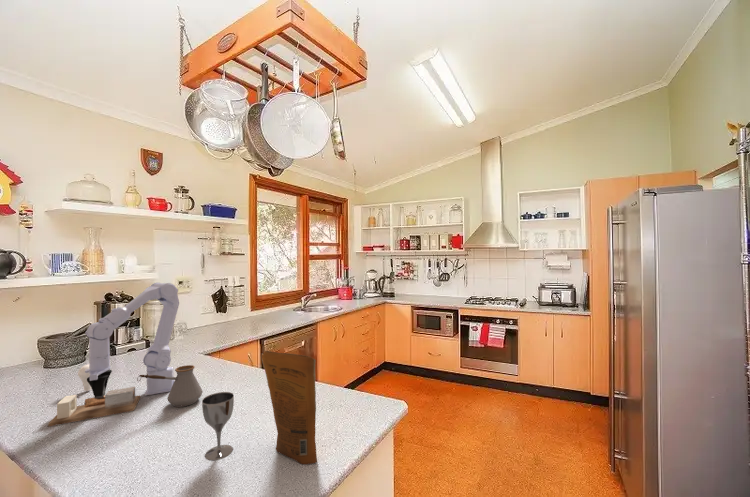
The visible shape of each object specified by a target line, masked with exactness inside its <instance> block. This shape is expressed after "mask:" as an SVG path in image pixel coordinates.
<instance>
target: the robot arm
mask: <svg viewBox="0 0 750 497" xmlns="http://www.w3.org/2000/svg"><path fill="white" fill-rule="evenodd" d="M178 292H179V289H178V288H177V287H176V285H175V284H174V283H171V282H154V283H152V284H151V285H149V286H148V287H146V288H144V290H143V291H142V292H140V293H139V294H138V295H137V296H135V298H133V299H131V301H129V302H128V303H127V304H125V305H124V306H123V307H121V306H118V307H116V308H115V307H114V308H113V307H112V309H111V310H110V312H109V313H108V314H107V315H105V316H104V317H100V318H99V319H98V322H93V323H91V324H89V325H88V328H87V329H86V331H85V335H86V336H87V338H88V340H89V343H88V356H89V357H88V358H89V359H88V361H89V362H88V364H89V369H87V370H86V371H85V373H89V374H90V377H88V378H87V382H88V383H89V384H90V386H91V388H92V389H91V390H92V394H93V398H94V397H97V396H102V394H103V390H104V385H105V391H106V390H107V386H108V381H109V379H110V376H111V374H112V373H113V370H112V369H111V368H112V366H111V361H110V360H111V357H110V356H111V354H110V352H111V350H110V349H111V348H110V338H111V336H112V335H113V333H114V331H115V330H116V329H117V328H119V327H120V326H121V325H122V324H124V323H125V322H126V321H128V320H129V319H130V318H131V314H132V313H133V312H135V311H136V310H138V309H139V308H140V307H142V306H143V305H145V304H146V303H148V302H149V301H153V300H158V302H160V303H161V305H162V306H163V307H162V311H161V315H160V318H159V322H158V326H157V329H156V333H155V336H154V339H153V343H152V345H150V347H149V348H148V350H147V352H146V354H145V355H144V356H143V360H142V362H143V364H144V366H146V375H147V374H148V375H158V376H165V377H175V375H174V374H175V370H174V366H170V364H171V362H172V358H171V352H172V351H171V348H170V345H169V344H170V341H171V336H172V332H173V328H174V325H175V323H176V322H175V321H176V318H177V314H178V309H179V307H180V306H179V305H180V300H179V295H178ZM174 381H175V380H170V379H152V378H146V390H145V392H144V395H143V396H151V395H157V394H162V393H167V392H168V393H170V391H171V388H172V386H173V384H174Z"/></svg>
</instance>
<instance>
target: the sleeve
mask: <svg viewBox="0 0 750 497" xmlns="http://www.w3.org/2000/svg"><path fill="white" fill-rule="evenodd" d="M135 396H136V386H129V387H124V388H119V389H113V390H111V389H110V390H108V391H107V393H105V409H110V408H115V407H121V406H126V405H132V404H133V403H134V401H135Z"/></svg>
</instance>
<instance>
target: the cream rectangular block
mask: <svg viewBox="0 0 750 497" xmlns="http://www.w3.org/2000/svg"><path fill="white" fill-rule="evenodd" d="M77 398H78V396H77V394H72V395H66V396H64V397H62V399H61V400H60V401H59V402H57V403H56V415H57V419H61V418H66V417H70V415H71V414H72V413H73V412H74V411H75V410H76V409H77V406H78V404H77V400H78V399H77Z"/></svg>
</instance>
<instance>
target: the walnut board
mask: <svg viewBox="0 0 750 497" xmlns="http://www.w3.org/2000/svg"><path fill="white" fill-rule="evenodd" d="M140 400H141V394H140V395H135V401H134V403H133V404H132V405H126V406H121V407H115V408H110V409H105V404H104V405H99V406H93V407H87V408H85V407H84V404H82V405H77V409H76V410H75V411H74V412H73V413H72V414H71V415H70V417H66V418H61V419H57V414H56V415H55V416H54V417H53V418H52V419H51V420H50V421H49V422H48V426H47V427H52V426H59V425H63V424H70V423H75V422H80V421H84V420H86V421H87V420H90V419H97V418H100V417H101V418H102V417H107V416H112V415H116V414H117V415H118V414H122V413H128V412H134V410H135V409H136V407H137V405H138V403H139V402H140Z"/></svg>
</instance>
